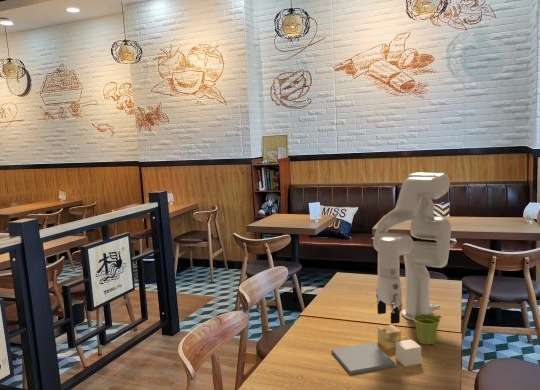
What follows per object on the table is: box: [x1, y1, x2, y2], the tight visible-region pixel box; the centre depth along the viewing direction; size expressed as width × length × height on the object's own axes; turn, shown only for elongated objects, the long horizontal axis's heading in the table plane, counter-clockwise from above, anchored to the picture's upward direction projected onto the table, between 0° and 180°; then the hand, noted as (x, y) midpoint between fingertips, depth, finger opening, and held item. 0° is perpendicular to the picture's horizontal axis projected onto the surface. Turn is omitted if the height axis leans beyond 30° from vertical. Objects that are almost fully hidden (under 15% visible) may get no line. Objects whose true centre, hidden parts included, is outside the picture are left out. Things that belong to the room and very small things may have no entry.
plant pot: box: [412, 314, 441, 345], centre depth 170 cm, size 9×9×9 cm
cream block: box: [395, 339, 422, 367], centre depth 156 cm, size 6×6×6 cm
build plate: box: [331, 342, 396, 375], centre depth 159 cm, size 16×16×1 cm
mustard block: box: [377, 324, 402, 350], centre depth 169 cm, size 6×6×6 cm
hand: (388, 318), depth 167 cm, fingers open, 9 cm apart
